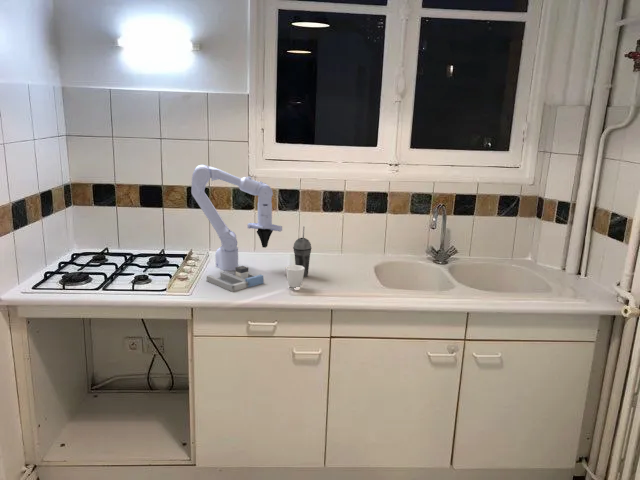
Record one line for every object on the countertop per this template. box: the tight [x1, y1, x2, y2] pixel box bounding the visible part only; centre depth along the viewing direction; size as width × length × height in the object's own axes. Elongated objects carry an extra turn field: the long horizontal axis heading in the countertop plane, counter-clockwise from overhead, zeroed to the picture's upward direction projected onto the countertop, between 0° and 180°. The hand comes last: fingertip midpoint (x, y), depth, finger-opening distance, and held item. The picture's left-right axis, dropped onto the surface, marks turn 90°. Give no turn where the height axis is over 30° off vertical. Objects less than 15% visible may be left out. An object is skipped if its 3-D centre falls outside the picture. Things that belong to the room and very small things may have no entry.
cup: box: [285, 264, 305, 291], centre depth 198 cm, size 7×10×8 cm
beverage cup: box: [292, 226, 312, 278], centre depth 209 cm, size 7×7×20 cm
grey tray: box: [205, 269, 265, 293], centre depth 199 cm, size 16×15×4 cm
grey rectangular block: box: [236, 265, 249, 279], centre depth 201 cm, size 3×3×5 cm
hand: (264, 246), depth 217 cm, fingers closed
